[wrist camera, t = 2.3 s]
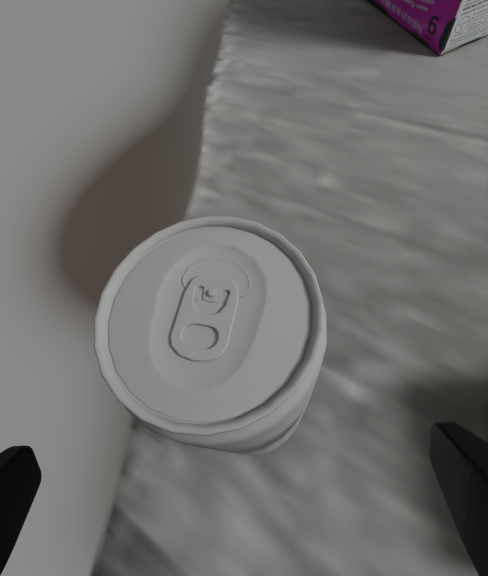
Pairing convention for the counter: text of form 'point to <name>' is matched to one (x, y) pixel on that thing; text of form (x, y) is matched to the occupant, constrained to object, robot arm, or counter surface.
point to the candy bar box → (440, 21)
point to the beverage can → (213, 334)
